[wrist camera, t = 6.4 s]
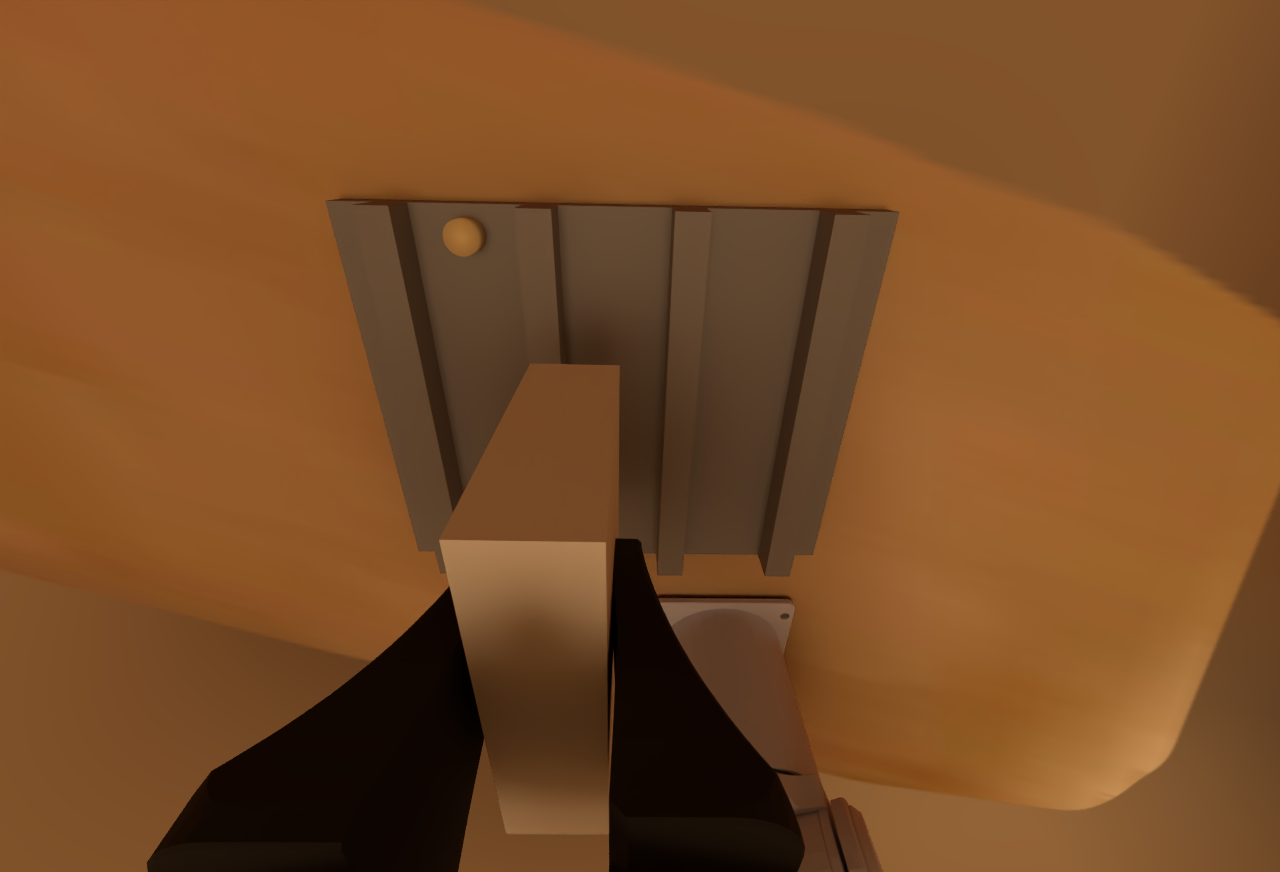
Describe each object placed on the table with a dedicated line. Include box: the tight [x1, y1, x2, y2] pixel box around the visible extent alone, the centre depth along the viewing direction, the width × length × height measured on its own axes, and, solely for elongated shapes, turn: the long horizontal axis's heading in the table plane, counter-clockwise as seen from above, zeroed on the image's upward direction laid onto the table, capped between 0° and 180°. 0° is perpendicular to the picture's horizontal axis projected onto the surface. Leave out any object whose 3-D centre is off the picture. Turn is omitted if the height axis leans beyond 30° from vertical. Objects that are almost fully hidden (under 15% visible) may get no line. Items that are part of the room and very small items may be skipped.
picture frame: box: [439, 363, 620, 834], centre depth 12 cm, size 9×2×7 cm, turn 178°
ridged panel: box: [326, 199, 899, 576], centre depth 21 cm, size 16×20×2 cm
